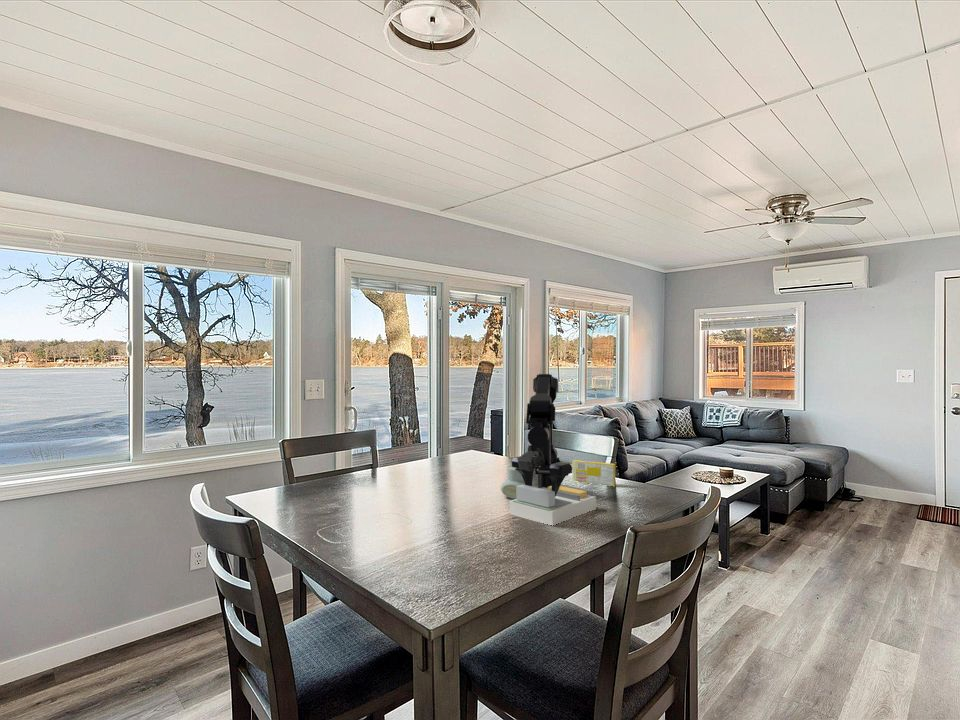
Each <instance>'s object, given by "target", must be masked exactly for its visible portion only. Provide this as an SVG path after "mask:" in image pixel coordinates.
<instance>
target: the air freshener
mask: <svg viewBox="0 0 960 720" xmlns="http://www.w3.org/2000/svg"><path fill="white" fill-rule="evenodd" d="M507 478H508V479H506V480H504V481H502V483H501V485H500V491H501V493H502V495H504V496H505V497H506V498H509V499H511V500H514V499H516V486H519V485H525V482H524V480H523V477H522V475H521V474H520V473H519V472H518V471H517V470H515V468H514V467H512V465H511V466H509V467H508V469H507ZM532 487H534V485H533V484H532Z"/></svg>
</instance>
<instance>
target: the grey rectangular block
mask: <svg viewBox="0 0 960 720" xmlns="http://www.w3.org/2000/svg"><path fill="white" fill-rule="evenodd" d="M516 500H520V501H524V502H528V503H532V504H536V505H540V506H544V507H548V508H549V507H552V506H555V491H550V490H546V489H541V488H538V487H537V486H533V487H532V486H528V485H519V486H516Z"/></svg>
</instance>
